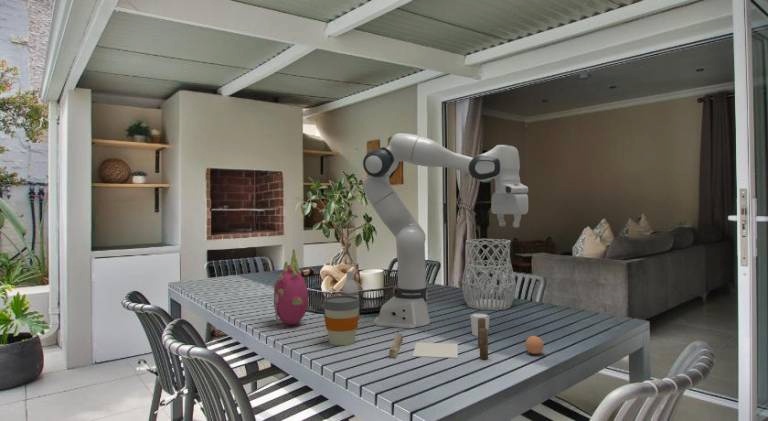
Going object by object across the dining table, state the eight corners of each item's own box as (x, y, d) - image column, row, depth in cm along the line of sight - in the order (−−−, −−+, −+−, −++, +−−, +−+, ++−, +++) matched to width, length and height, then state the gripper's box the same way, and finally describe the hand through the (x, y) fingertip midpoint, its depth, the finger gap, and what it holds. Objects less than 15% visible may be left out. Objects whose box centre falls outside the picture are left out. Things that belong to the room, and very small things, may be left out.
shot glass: (478, 338, 167) (478, 318, 167) (466, 333, 174) (466, 314, 173) (493, 335, 171) (493, 316, 170) (481, 330, 177) (481, 312, 176)
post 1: (478, 346, 157) (478, 320, 157) (477, 344, 160) (477, 318, 160) (485, 347, 157) (485, 320, 157) (485, 344, 160) (485, 318, 159)
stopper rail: (389, 357, 148) (389, 349, 148) (397, 340, 166) (396, 333, 166) (395, 358, 148) (395, 350, 148) (402, 340, 165) (402, 333, 165)
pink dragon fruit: (268, 321, 194) (267, 248, 194) (300, 317, 201) (299, 246, 200) (280, 332, 179) (278, 252, 178) (314, 327, 185) (313, 250, 184)
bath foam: (340, 318, 199) (339, 270, 198) (355, 316, 202) (355, 269, 201) (345, 321, 192) (344, 272, 192) (361, 320, 195) (360, 271, 195)
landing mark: (412, 356, 149) (412, 355, 149) (416, 343, 163) (416, 342, 163) (457, 358, 147) (457, 357, 147) (457, 344, 160) (457, 343, 160)
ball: (526, 356, 148) (526, 338, 147) (524, 350, 153) (524, 333, 153) (545, 356, 147) (544, 339, 147) (542, 351, 152) (541, 334, 152)
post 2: (479, 359, 145) (479, 330, 145) (479, 356, 148) (479, 328, 147) (488, 359, 145) (487, 330, 144) (487, 357, 147) (487, 328, 147)
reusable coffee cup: (341, 334, 175) (341, 293, 174) (367, 340, 167) (366, 298, 166) (316, 342, 165) (315, 299, 165) (342, 349, 157) (341, 304, 157)
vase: (452, 303, 224) (451, 239, 224) (493, 297, 235) (492, 237, 234) (483, 313, 202) (482, 243, 202) (527, 307, 213) (526, 240, 212)
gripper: (486, 190, 182) (487, 226, 182) (514, 188, 162) (516, 228, 162) (501, 189, 184) (502, 225, 184) (531, 187, 164) (532, 227, 164)
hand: (509, 226), depth 173 cm, fingers open, 8 cm apart
